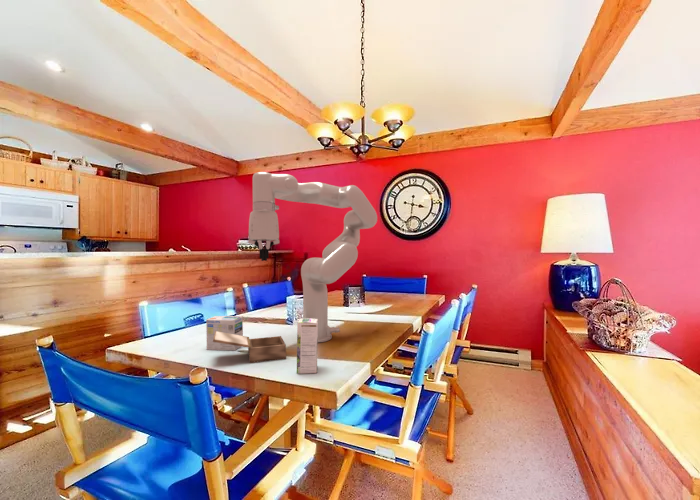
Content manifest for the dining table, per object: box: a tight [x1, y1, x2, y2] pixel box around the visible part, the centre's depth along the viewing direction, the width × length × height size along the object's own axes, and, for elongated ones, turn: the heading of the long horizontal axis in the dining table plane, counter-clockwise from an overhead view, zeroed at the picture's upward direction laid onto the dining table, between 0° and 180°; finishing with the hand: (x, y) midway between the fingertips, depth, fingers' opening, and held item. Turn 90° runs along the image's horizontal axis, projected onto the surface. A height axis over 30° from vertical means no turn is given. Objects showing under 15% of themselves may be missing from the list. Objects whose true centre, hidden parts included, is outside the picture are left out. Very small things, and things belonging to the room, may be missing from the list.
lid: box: [213, 331, 251, 349], centre depth 103 cm, size 11×11×1 cm
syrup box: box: [296, 317, 319, 375], centre depth 94 cm, size 6×6×14 cm
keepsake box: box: [247, 335, 287, 364], centre depth 106 cm, size 11×11×4 cm
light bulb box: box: [205, 315, 244, 351], centre depth 115 cm, size 11×7×11 cm, turn 84°
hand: (264, 260), depth 114 cm, fingers closed
